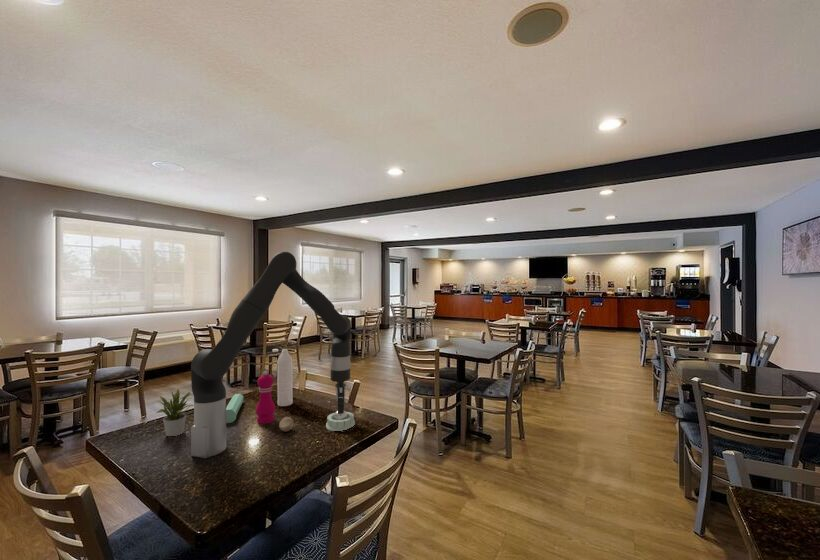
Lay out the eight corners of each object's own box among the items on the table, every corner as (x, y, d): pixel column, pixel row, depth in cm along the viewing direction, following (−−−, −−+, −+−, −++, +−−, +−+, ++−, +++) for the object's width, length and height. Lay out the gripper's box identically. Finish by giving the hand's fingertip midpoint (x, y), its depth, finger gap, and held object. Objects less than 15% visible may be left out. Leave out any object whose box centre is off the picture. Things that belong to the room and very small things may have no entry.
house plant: (206, 433, 130) (206, 389, 130) (162, 447, 119) (161, 399, 119) (191, 423, 139) (191, 382, 139) (149, 435, 128) (149, 390, 128)
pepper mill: (270, 424, 137) (270, 373, 137) (252, 424, 137) (252, 373, 137) (278, 417, 144) (277, 368, 144) (260, 417, 145) (260, 368, 145)
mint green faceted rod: (234, 389, 162) (223, 407, 139) (247, 393, 164) (239, 411, 140) (229, 402, 162) (217, 422, 138) (242, 405, 163) (232, 426, 139)
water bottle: (294, 401, 164) (293, 347, 163) (290, 406, 157) (290, 350, 157) (274, 402, 163) (274, 348, 163) (270, 407, 156) (270, 350, 156)
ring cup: (346, 433, 129) (346, 423, 129) (320, 429, 132) (320, 420, 132) (359, 421, 140) (359, 413, 140) (335, 418, 143) (335, 409, 143)
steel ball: (343, 426, 133) (343, 413, 133) (331, 424, 134) (331, 411, 134) (349, 421, 138) (349, 408, 138) (338, 419, 139) (338, 407, 139)
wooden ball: (287, 434, 128) (287, 420, 128) (276, 432, 130) (276, 419, 130) (296, 429, 133) (296, 415, 133) (285, 427, 135) (285, 414, 135)
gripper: (351, 371, 130) (351, 415, 130) (349, 362, 144) (349, 402, 143) (330, 372, 128) (330, 417, 128) (330, 363, 142) (330, 403, 142)
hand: (340, 409), depth 136 cm, fingers open, 8 cm apart
